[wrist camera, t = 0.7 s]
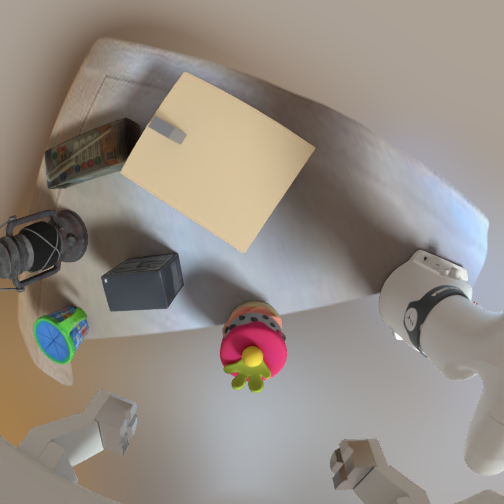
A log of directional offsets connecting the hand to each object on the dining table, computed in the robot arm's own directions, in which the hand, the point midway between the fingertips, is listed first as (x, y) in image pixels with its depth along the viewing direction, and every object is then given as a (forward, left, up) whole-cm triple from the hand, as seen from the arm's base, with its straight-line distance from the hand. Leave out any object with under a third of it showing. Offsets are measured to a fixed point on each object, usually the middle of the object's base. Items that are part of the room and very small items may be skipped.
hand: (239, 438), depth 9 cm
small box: (+18, +8, -41) cm, 45 cm away
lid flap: (+7, -12, -30) cm, 33 cm away
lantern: (+38, +3, -41) cm, 55 cm away
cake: (-1, +16, -41) cm, 44 cm away
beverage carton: (+30, -13, -41) cm, 53 cm away
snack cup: (+38, +22, -41) cm, 59 cm away
